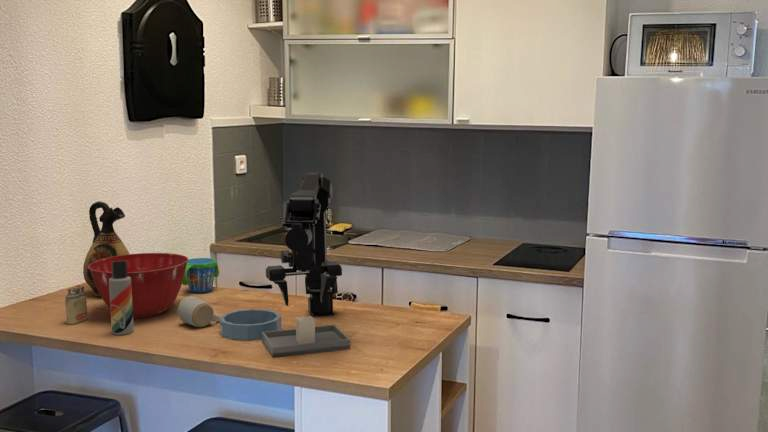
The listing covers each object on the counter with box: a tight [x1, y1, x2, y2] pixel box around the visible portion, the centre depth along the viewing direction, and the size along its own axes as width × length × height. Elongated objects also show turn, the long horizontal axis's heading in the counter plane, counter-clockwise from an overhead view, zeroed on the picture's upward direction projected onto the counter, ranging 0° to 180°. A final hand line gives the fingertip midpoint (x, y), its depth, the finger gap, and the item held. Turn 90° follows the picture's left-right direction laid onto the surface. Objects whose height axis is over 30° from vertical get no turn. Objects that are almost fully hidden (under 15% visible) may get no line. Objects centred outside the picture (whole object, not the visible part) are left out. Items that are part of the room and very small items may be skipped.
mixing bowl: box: [88, 252, 189, 319], centre depth 240 cm, size 28×28×15 cm
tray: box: [261, 324, 351, 358], centre depth 209 cm, size 20×14×2 cm
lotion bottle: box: [109, 261, 134, 336], centre depth 219 cm, size 6×6×20 cm
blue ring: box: [219, 308, 282, 341], centre depth 221 cm, size 16×16×4 cm
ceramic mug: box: [177, 295, 221, 328], centre depth 228 cm, size 11×8×8 cm
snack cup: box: [182, 257, 220, 294], centre depth 265 cm, size 16×10×10 cm
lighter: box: [64, 284, 88, 325], centre depth 230 cm, size 7×4×10 cm, turn 163°
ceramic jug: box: [82, 200, 130, 298], centre depth 261 cm, size 17×15×30 cm
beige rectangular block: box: [295, 315, 316, 344], centre depth 208 cm, size 4×4×6 cm
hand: (304, 303), depth 207 cm, fingers open, 9 cm apart
